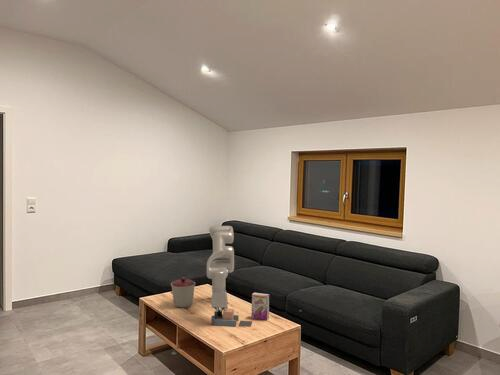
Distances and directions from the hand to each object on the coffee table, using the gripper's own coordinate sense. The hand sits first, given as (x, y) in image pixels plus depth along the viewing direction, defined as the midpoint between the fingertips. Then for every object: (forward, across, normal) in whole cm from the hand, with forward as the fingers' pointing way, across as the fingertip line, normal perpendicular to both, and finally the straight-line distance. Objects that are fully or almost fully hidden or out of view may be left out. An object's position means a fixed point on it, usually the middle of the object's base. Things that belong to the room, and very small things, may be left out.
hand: (219, 316), depth 256 cm
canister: (+4, -34, +28) cm, 44 cm away
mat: (+4, +17, 0) cm, 18 cm away
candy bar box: (+4, +26, +11) cm, 28 cm away
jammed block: (+4, +6, 0) cm, 7 cm away
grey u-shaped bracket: (+4, +4, 0) cm, 5 cm away
